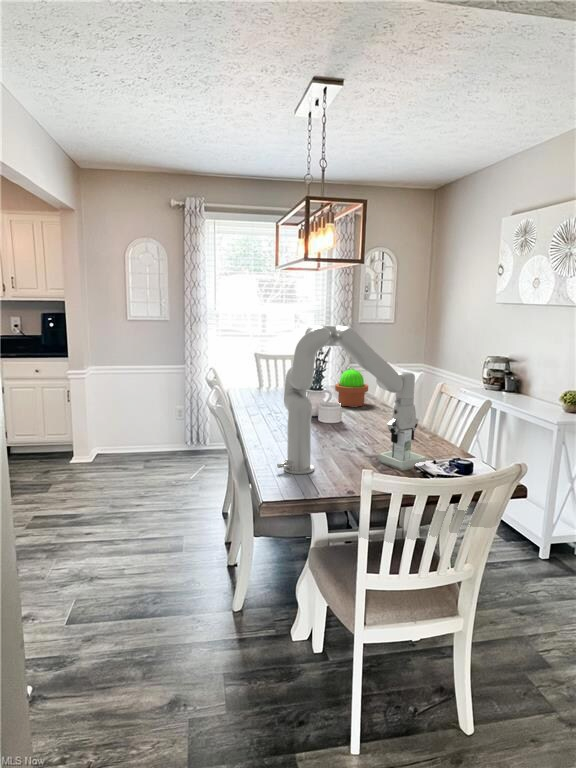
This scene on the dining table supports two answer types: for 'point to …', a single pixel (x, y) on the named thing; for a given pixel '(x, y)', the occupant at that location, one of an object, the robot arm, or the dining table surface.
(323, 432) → the dining table surface
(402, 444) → the syrup box
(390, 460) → the tray
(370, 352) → the robot arm
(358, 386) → the potted cactus
